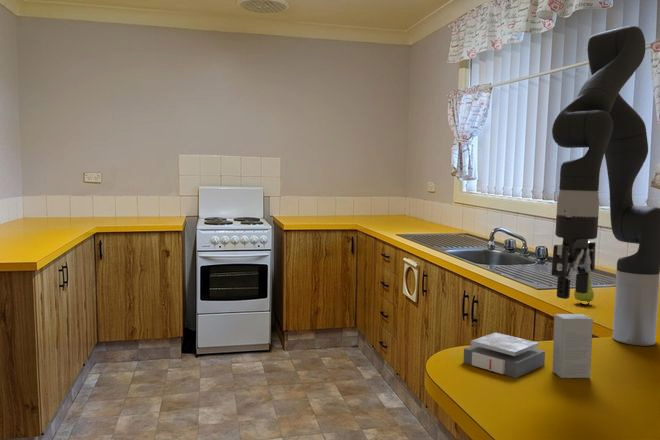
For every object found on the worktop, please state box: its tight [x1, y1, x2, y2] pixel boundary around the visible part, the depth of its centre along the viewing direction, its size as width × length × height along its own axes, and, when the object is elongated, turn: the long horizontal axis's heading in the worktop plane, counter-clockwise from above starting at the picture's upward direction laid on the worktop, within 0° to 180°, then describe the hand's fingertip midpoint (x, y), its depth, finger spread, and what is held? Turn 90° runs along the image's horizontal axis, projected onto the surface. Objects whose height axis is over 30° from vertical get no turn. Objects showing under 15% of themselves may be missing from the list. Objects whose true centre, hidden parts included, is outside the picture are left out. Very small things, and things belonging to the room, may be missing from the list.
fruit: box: [573, 276, 595, 302], centre depth 173 cm, size 6×6×12 cm
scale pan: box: [470, 331, 539, 356], centre depth 114 cm, size 10×10×1 cm
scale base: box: [463, 345, 546, 379], centre depth 114 cm, size 13×12×3 cm
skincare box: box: [552, 313, 594, 379], centre depth 108 cm, size 6×4×12 cm
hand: (572, 295), depth 107 cm, fingers open, 8 cm apart
